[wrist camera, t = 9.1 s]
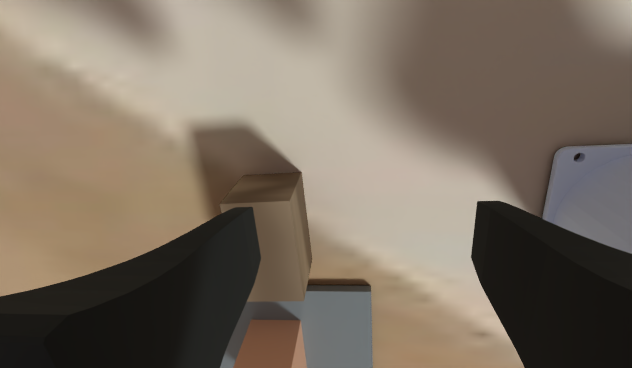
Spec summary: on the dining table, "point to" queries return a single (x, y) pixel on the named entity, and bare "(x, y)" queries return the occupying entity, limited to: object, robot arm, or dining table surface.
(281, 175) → the walnut brick
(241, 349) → the terracotta brick
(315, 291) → the grey flat square slab
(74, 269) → the dining table surface
